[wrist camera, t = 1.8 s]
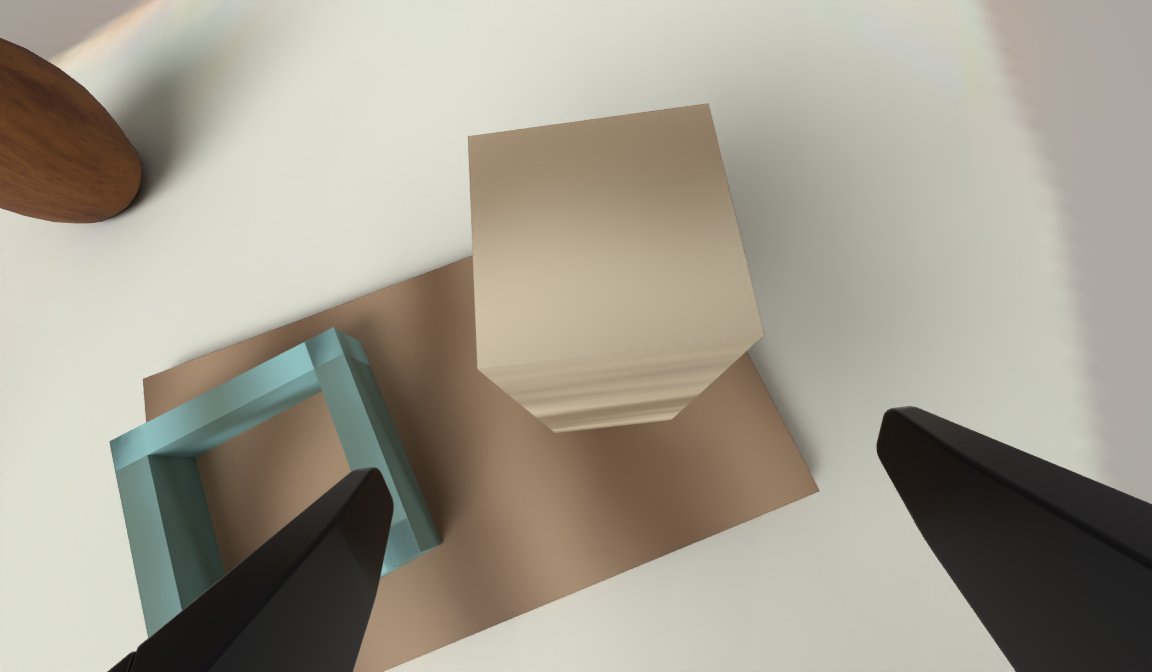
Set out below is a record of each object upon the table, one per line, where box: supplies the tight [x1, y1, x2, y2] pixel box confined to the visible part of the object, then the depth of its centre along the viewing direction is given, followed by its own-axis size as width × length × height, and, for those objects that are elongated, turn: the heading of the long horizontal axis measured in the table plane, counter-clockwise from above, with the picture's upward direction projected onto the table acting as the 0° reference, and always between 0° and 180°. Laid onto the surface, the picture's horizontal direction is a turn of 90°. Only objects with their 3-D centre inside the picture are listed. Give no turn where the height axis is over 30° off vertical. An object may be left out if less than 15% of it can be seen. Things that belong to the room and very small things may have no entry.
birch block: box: [468, 104, 764, 433], centre depth 13 cm, size 4×4×11 cm
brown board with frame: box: [109, 256, 820, 672], centre depth 18 cm, size 24×14×3 cm, turn 111°
